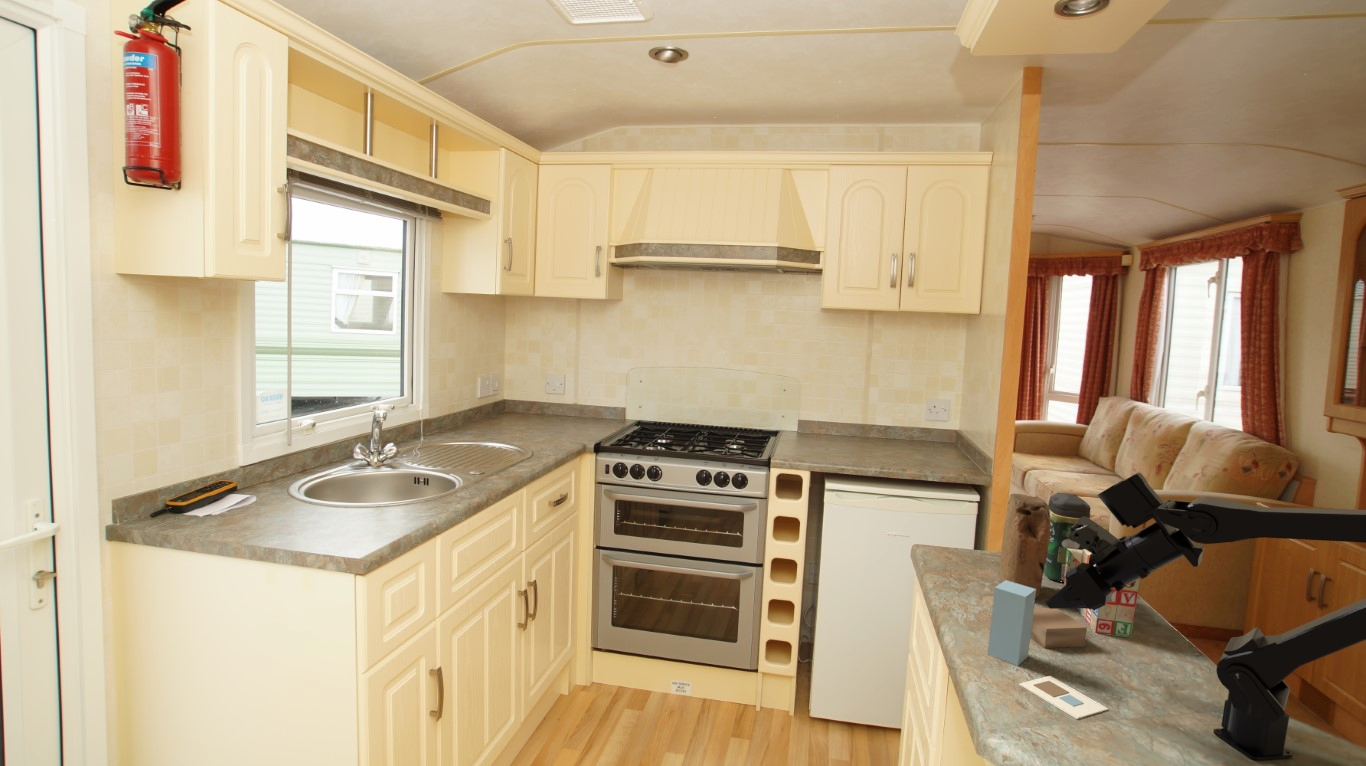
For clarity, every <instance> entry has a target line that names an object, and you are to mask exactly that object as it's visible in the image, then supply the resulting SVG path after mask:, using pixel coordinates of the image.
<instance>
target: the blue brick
mask: <svg viewBox="0 0 1366 766" xmlns="http://www.w3.org/2000/svg"><path fill="white" fill-rule="evenodd" d="M1035 594H1036V589H1034V588H1030V587H1027V586H1024V585H1020V584H1017V583H1014V582H1010V581H1007V580H1005V581H1004V582H1002V583H999V584H997V585H996V586H995V587H994V592H993V601H992V609H991V620H990V626H989V627H990V628H989V629H990V630H989V637H988V638H989V639H988V646H987V656H990V657H993V658H996V659H998V660H1000V661H1004V662H1007V663H1009V664H1011V665H1014V666H1016V665H1017V666H1020V665H1021V664H1022V663H1023V662H1024V661H1025V660H1026V659H1027V658H1028V657H1029V652H1030V643H1031V638H1030V637H1031V628H1032V620H1033V611H1034V609H1035V601H1036V598H1035ZM1024 659H1025V660H1024Z"/></svg>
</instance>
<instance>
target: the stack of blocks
mask: <svg viewBox="0 0 1366 766" xmlns="http://www.w3.org/2000/svg"><path fill="white" fill-rule="evenodd" d="M1090 554H1092V553H1091V552H1089V551H1088V550H1086V549H1083V550H1076V549H1067V553H1066V566H1065V574H1064V576H1065V575H1066V573H1067V572H1068V571H1069V570H1070V569H1072V568H1074V567H1075V566H1077V565H1079V564H1081V563H1082V562H1084V563H1087V564H1088V563H1089V557H1090ZM1140 582H1141V578H1139V579H1137V580H1135V581H1133V582H1131V583H1129V584H1127V585H1126V586H1125V587H1124V588H1123V589H1121V590H1119V591H1117V590H1116V589H1115V588H1110V589H1111V590H1112V597H1111V600H1110V601H1109V602H1108V603H1107V604H1106V605H1104V606H1102V607H1100V608H1098V609H1096V610H1092V609H1091V610H1090V609H1086V608H1078V609H1077V610H1078V611H1079V613H1080V612H1081V613H1080V614H1081V615H1082V617H1083V616H1084V617H1083V619H1084V620H1085V619H1086V620H1085V621H1086V623H1087V622H1088V623H1087V624H1088V626H1089V627H1090V626H1091V627H1090V629H1091V630H1092V629H1093V630H1092V632H1094V633H1095V634H1099V633H1101V634H1100V635H1106V634H1111V635H1110V636H1114V635H1119V636H1118V637H1121V636H1125V637H1124V638H1129V637H1131V638H1132V633H1133V628H1134V618H1135V617H1134V616H1135V611H1136V607H1137V602H1138V601H1137V600H1138V595H1139V589H1140V588H1139V587H1140ZM1065 585H1066V578H1065V577H1064V583H1063V587H1064V586H1065ZM1063 587H1062V588H1063ZM1126 636H1127V637H1126Z"/></svg>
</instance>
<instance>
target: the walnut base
mask: <svg viewBox="0 0 1366 766" xmlns="http://www.w3.org/2000/svg"><path fill="white" fill-rule="evenodd" d="M1087 631H1088V627H1087V626H1085V625H1084V624H1082V623H1081V622H1079V621H1078V620H1076V619H1074V618H1073V617H1072V616H1070V615H1068V614H1067V613H1065V612H1064V611H1062V610H1061V609H1050V608H1049V607H1047V608H1046V607H1045V608H1043V607H1041V608H1034V611H1033V620H1032V628H1031V637H1030V639H1032V640H1033V641H1035V642H1036V643H1037V644H1039V645H1040V646H1041V647H1043V648H1044V649H1046V648H1047V649H1049V648H1071V647H1073V648H1075V647H1085V645H1086V638H1087Z"/></svg>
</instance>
